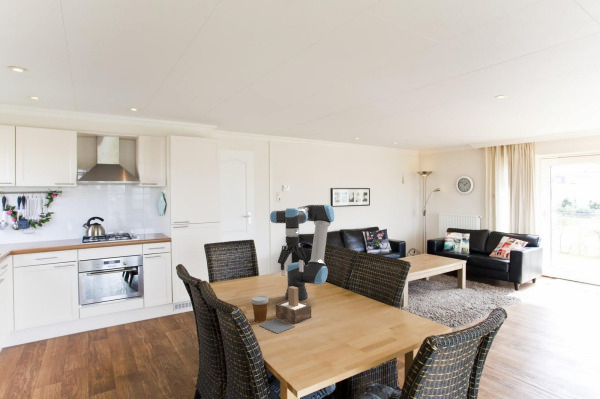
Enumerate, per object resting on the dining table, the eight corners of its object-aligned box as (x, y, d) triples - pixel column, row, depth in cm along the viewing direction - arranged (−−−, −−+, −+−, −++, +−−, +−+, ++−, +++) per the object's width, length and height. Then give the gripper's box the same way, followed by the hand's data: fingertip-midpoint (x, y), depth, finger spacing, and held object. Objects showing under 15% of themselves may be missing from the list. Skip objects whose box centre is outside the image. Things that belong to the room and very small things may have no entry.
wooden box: (275, 316, 187) (275, 304, 187) (292, 310, 196) (291, 299, 196) (295, 324, 176) (295, 310, 176) (311, 317, 185) (311, 305, 185)
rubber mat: (258, 325, 174) (258, 325, 174) (276, 319, 183) (276, 318, 183) (277, 334, 164) (277, 333, 164) (295, 326, 172) (295, 326, 172)
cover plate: (280, 306, 187) (280, 287, 187) (292, 302, 194) (291, 283, 193) (294, 311, 179) (294, 291, 179) (306, 307, 185) (306, 287, 185)
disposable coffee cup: (252, 324, 177) (252, 301, 177) (250, 317, 186) (250, 296, 186) (270, 322, 179) (270, 300, 179) (267, 315, 189) (267, 294, 188)
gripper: (280, 238, 174) (280, 278, 174) (312, 234, 192) (312, 270, 192) (270, 237, 179) (271, 276, 179) (303, 233, 197) (303, 268, 197)
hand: (292, 273), depth 186 cm, fingers open, 13 cm apart
